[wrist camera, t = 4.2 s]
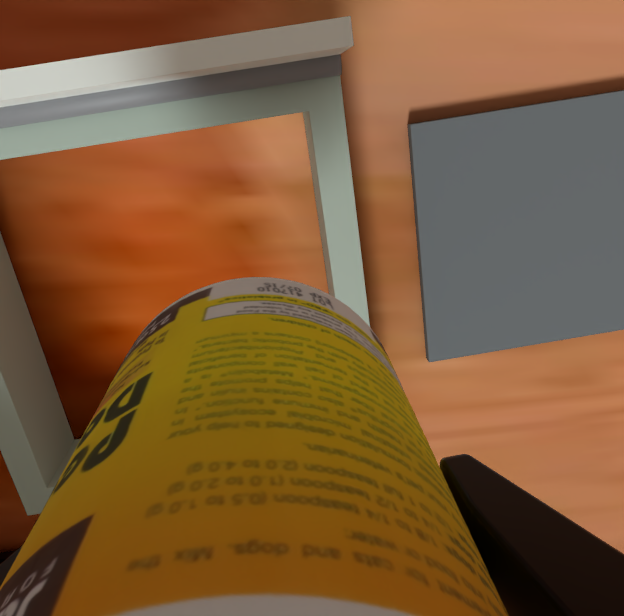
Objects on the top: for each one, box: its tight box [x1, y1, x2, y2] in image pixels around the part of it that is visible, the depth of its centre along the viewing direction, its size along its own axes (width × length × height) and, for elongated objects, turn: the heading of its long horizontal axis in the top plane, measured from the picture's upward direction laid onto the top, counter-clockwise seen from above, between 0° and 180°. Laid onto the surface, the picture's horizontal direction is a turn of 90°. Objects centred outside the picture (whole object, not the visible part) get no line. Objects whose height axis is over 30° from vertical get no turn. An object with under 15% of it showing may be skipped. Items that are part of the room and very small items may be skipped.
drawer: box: [0, 16, 370, 516], centre depth 17 cm, size 14×13×6 cm
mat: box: [408, 90, 624, 362], centre depth 20 cm, size 9×9×1 cm
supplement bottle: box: [0, 277, 509, 616], centre depth 7 cm, size 6×6×10 cm
